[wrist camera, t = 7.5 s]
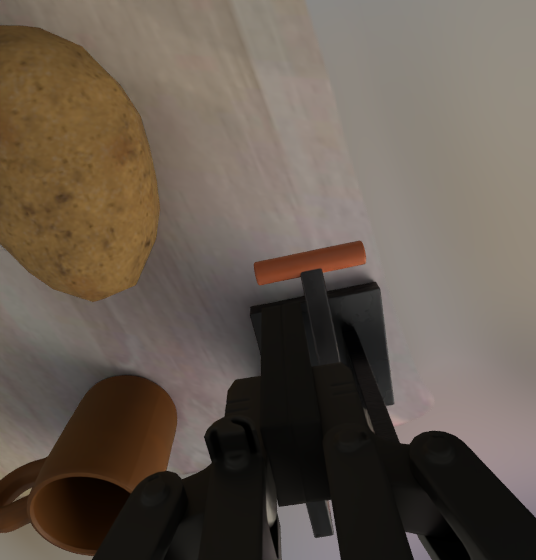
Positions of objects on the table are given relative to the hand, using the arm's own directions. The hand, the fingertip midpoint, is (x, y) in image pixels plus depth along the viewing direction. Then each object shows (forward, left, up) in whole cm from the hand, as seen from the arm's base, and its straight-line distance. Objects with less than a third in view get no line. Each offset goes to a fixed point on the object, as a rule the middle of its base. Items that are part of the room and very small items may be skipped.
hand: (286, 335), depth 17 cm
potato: (-7, -10, -13) cm, 18 cm away
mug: (+12, -16, -13) cm, 24 cm away
